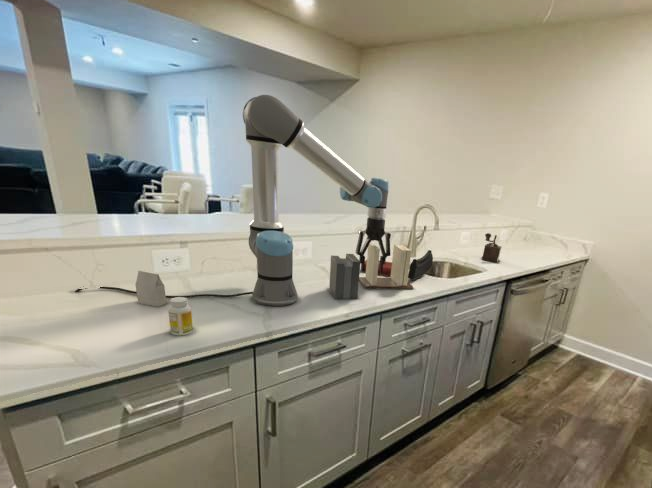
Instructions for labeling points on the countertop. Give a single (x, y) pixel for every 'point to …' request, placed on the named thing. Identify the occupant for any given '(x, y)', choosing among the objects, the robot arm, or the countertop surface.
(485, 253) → the manual coffee grinder
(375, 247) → the white book
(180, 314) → the supplement bottle
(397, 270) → the white books
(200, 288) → the countertop surface
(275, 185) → the robot arm
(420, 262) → the magazine
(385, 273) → the hardcover book
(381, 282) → the shelf board
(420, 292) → the countertop surface
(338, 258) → the grey books
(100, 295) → the countertop surface
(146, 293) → the grey stone
